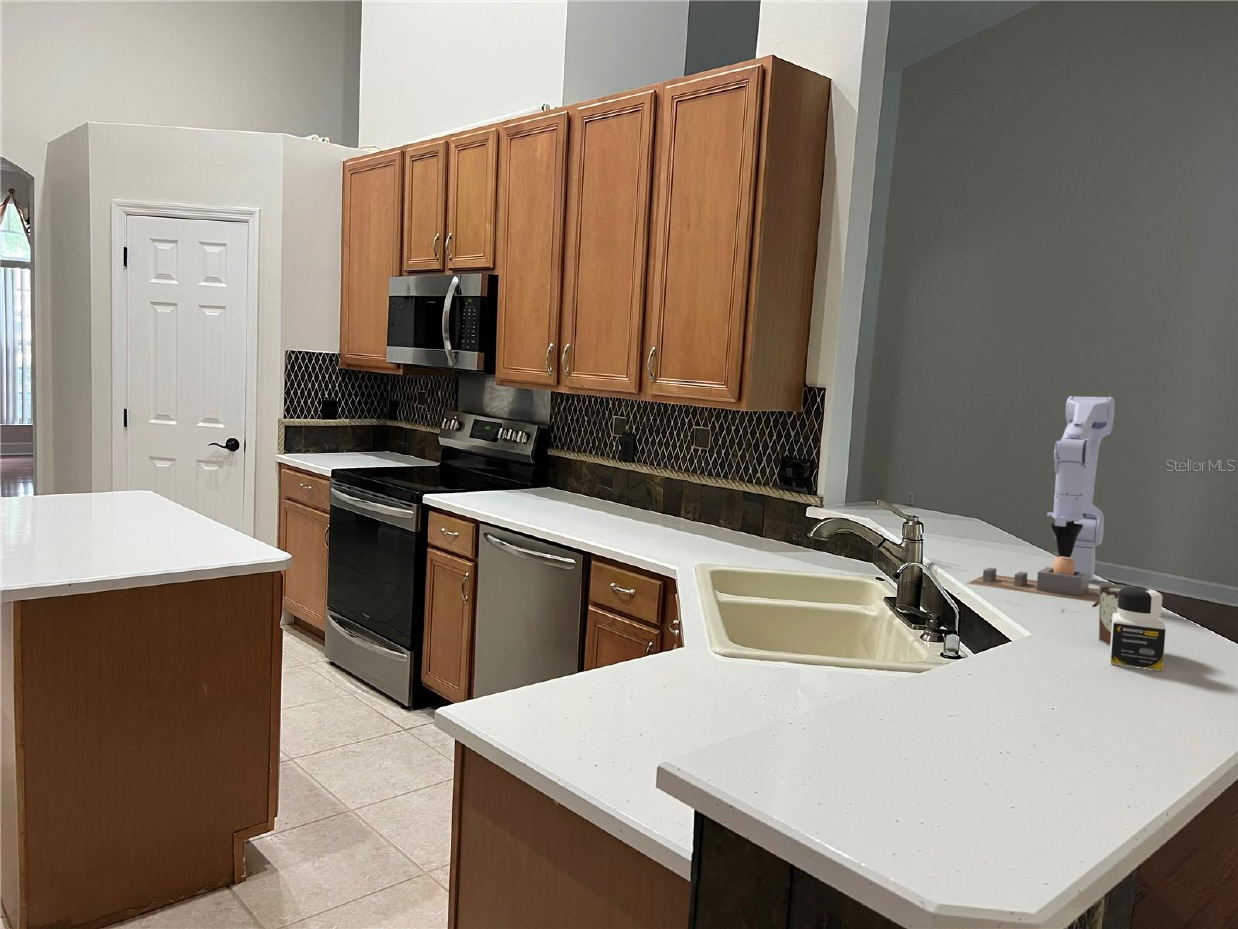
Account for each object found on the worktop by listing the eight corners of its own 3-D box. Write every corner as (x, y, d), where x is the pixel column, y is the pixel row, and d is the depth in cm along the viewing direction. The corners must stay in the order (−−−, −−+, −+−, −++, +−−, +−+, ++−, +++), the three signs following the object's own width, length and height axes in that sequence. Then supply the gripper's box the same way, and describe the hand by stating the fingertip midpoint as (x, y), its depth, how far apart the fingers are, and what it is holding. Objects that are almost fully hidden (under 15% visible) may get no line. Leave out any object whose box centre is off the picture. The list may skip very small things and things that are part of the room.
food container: (1170, 659, 148) (1175, 599, 147) (1132, 658, 148) (1137, 597, 147) (1129, 639, 160) (1133, 583, 159) (1094, 638, 160) (1098, 582, 160)
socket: (1045, 584, 204) (1047, 567, 204) (1088, 590, 199) (1089, 572, 198) (1036, 590, 197) (1037, 572, 197) (1080, 596, 192) (1081, 577, 192)
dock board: (987, 578, 215) (988, 563, 215) (1109, 595, 200) (1111, 579, 199) (966, 587, 203) (967, 572, 202) (1096, 606, 187) (1097, 590, 187)
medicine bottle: (1110, 665, 143) (1115, 590, 143) (1109, 654, 150) (1114, 582, 149) (1162, 672, 140) (1168, 596, 139) (1159, 661, 146) (1165, 588, 146)
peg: (1054, 587, 201) (1056, 556, 200) (1074, 590, 198) (1076, 558, 198) (1050, 590, 198) (1052, 558, 197) (1070, 593, 195) (1072, 561, 195)
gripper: (1056, 490, 205) (1052, 550, 206) (1041, 494, 193) (1037, 557, 194) (1091, 493, 200) (1087, 554, 201) (1077, 497, 189) (1073, 562, 190)
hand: (1064, 556), depth 197 cm, fingers closed
